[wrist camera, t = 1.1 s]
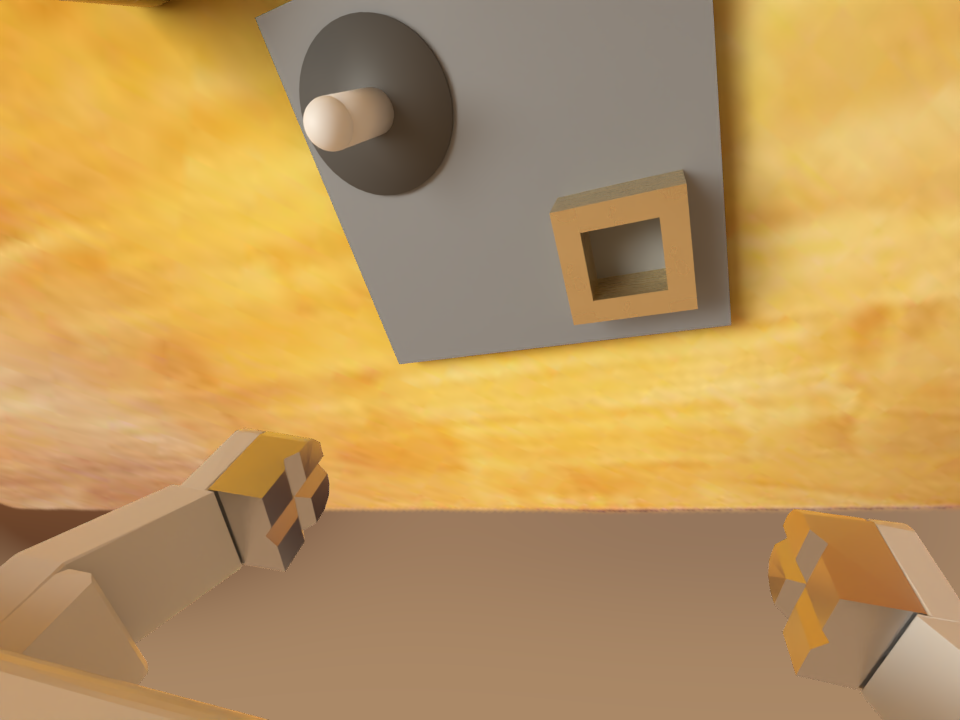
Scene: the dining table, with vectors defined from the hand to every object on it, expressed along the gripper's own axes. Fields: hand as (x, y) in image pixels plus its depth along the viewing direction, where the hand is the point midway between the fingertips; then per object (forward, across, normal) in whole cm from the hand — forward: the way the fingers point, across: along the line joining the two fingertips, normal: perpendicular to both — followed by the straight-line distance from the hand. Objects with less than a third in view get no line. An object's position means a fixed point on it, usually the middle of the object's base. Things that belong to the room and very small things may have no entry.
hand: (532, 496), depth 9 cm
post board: (+24, +5, -1) cm, 24 cm away
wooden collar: (+22, -2, +2) cm, 22 cm away
